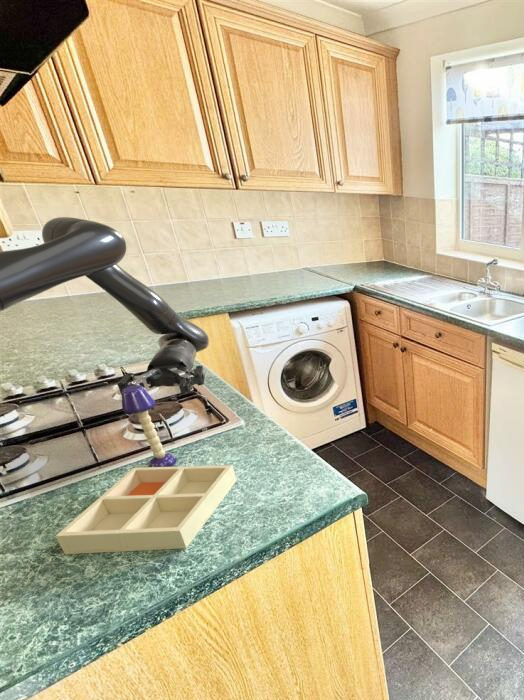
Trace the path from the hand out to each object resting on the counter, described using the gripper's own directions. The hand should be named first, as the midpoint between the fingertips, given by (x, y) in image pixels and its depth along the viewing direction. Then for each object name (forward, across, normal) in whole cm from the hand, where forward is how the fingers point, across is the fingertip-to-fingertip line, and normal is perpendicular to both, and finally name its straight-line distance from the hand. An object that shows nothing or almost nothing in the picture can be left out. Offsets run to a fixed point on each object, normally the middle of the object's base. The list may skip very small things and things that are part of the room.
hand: (157, 393), depth 85 cm
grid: (+26, +3, +11) cm, 28 cm away
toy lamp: (+10, 0, +11) cm, 15 cm away
